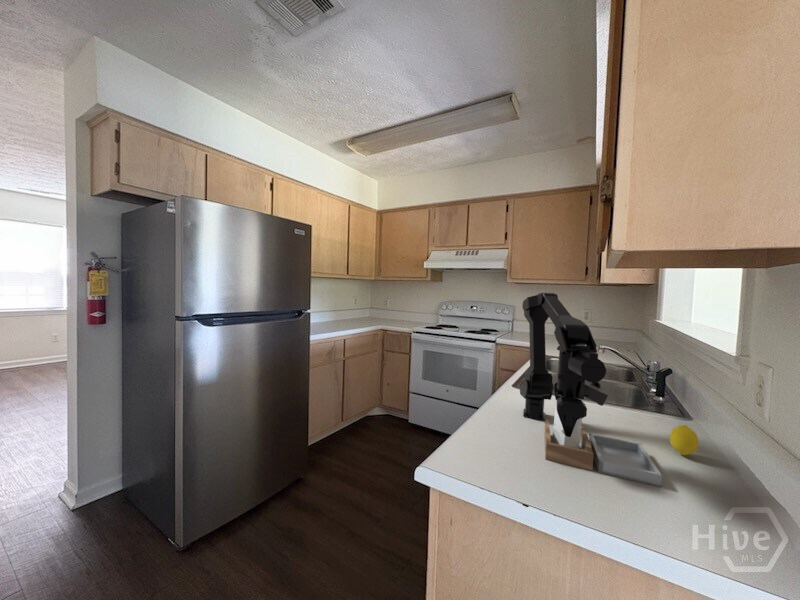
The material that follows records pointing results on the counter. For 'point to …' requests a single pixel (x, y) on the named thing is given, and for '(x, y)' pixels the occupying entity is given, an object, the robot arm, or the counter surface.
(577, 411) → the robot arm
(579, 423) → the skincare box
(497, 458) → the counter surface
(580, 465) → the bay
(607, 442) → the tray
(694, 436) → the lemon
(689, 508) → the counter surface
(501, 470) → the counter surface
